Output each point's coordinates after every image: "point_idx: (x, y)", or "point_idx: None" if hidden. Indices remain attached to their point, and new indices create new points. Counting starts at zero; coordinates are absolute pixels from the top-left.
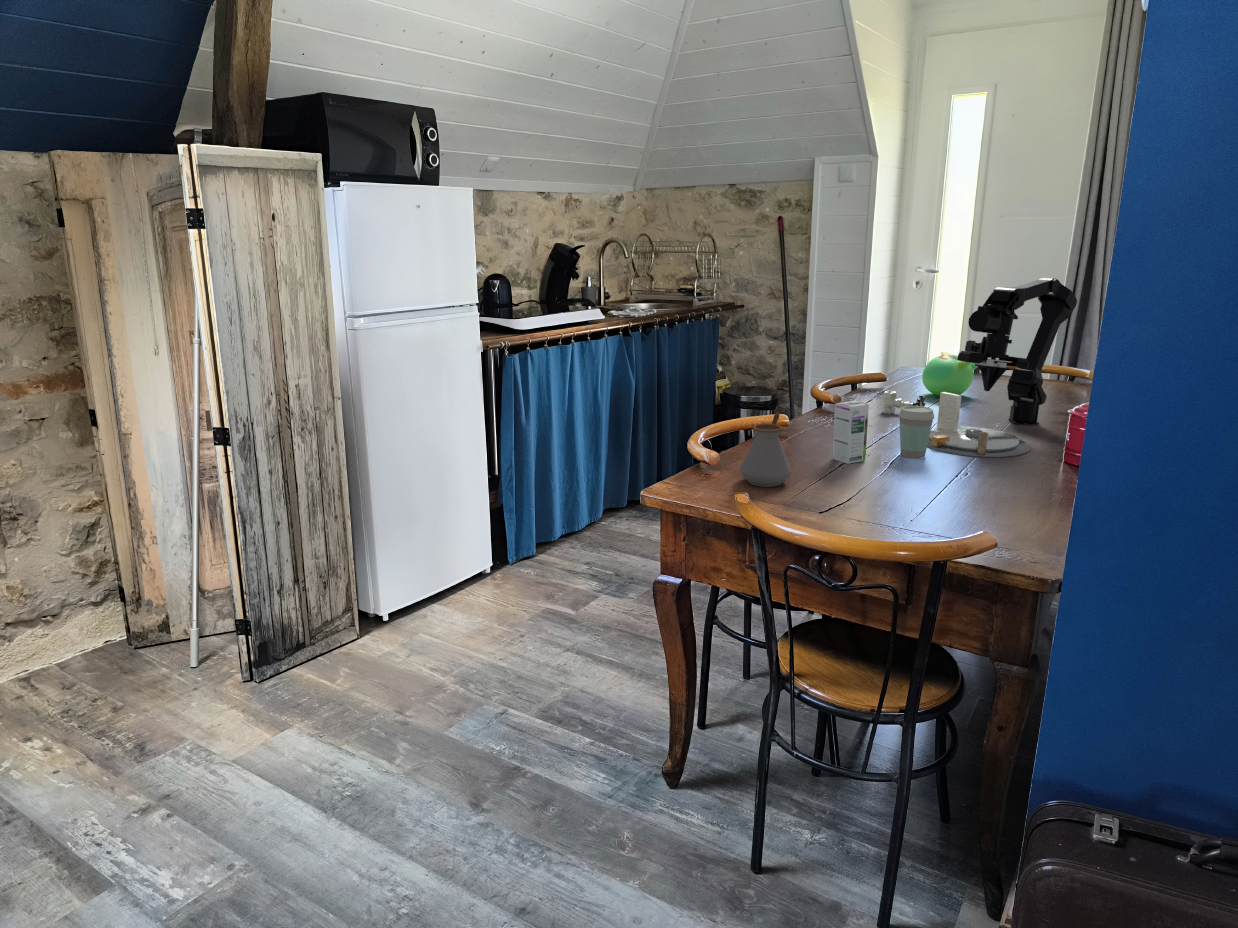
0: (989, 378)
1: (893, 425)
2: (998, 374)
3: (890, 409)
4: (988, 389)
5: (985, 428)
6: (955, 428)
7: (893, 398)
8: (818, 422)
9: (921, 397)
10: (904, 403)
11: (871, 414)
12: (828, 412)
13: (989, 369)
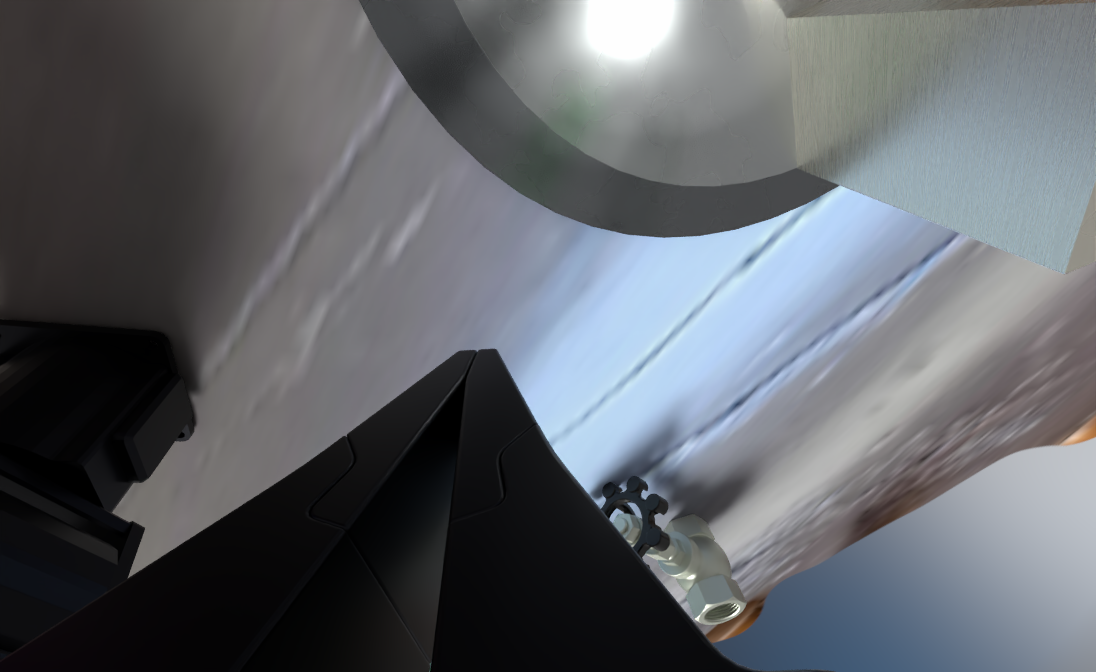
0: (536, 438)
1: (822, 362)
2: (315, 525)
3: (699, 530)
4: (476, 357)
5: (518, 84)
6: (835, 1)
7: (708, 577)
8: (1019, 413)
9: None
10: (672, 548)
11: (760, 505)
12: (865, 521)
13: (687, 624)
